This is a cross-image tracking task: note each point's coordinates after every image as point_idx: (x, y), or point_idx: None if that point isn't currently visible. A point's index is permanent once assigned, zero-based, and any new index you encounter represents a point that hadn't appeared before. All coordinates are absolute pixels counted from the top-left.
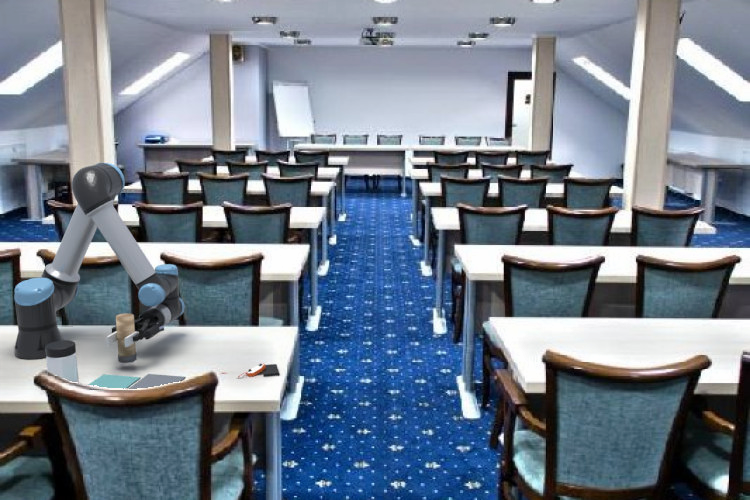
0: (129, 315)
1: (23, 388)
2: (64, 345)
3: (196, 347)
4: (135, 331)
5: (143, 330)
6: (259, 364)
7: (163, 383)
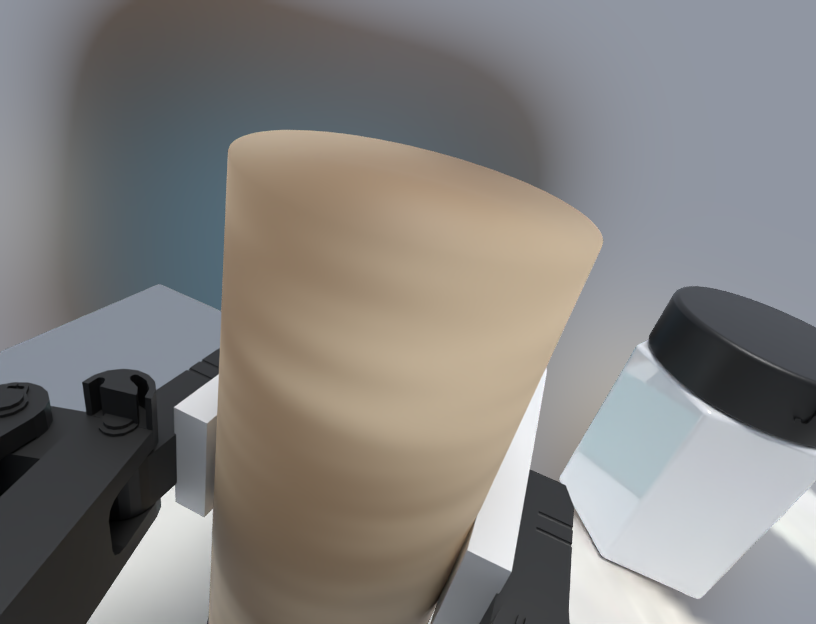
0: (328, 165)
1: (787, 516)
2: (732, 313)
3: None
4: (208, 421)
5: (37, 463)
6: None
7: (133, 344)
